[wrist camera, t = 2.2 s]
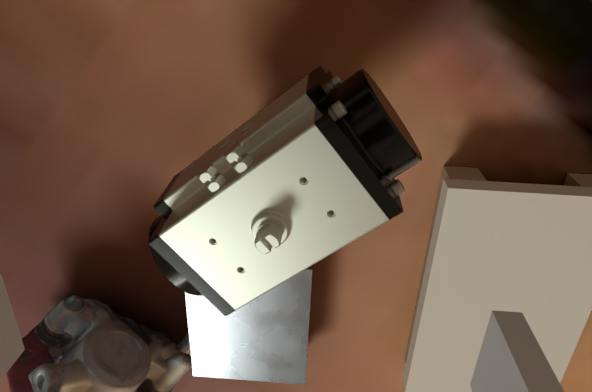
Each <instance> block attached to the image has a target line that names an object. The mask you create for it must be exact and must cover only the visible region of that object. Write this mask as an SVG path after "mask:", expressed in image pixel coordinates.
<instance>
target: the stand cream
mask: <svg viewBox="0 0 592 392" xmlns="http://www.w3.org/2000/svg"><path fill="white" fill-rule="evenodd" d="M492 310H494V311H507V312H521V313H523V315H524V317H525V319H526V321H527V323H528V325H529V326H530V328H531V330H532V332H533V334H534V336H535V338H536V340H537V341H538V343H539V345H540V347H541V349H542V351H543V353H544V355H545V356H546V358H547V360H548V362H549V364H550V366H551V368H552V370H553V372H554V373H555V375H556V377H557V379H558V381H559V383H560V382H561V380H562V378H563V375H564V373H565V371H566V368H567V366H568V364H569V361H570V359H571V357H572V354H573V352H574V350H575V347H576V345H577V343H578V340H579V338H580V336H581V333H582V331H583V329H584V326H585V324H586V322H587V319H588V317H589V315H590V312H591V310H592V174H576V173H567V175H566V178H565V181H564V184H563V186H562V185H545V184H528V183H511V182H494V181H486V179H485V178H484V176H483V175H482V173H481V172H480V170H479V169H478V168H472V167H455V166H444V167H443V172H442V177H441V182H440V187H439V192H438V197H437V202H436V207H435V212H434V217H433V222H432V227H431V232H430V237H429V242H428V247H427V252H426V257H425V262H424V267H423V272H422V277H421V282H420V287H419V292H418V297H417V302H416V307H415V312H414V317H413V322H412V327H411V332H410V337H409V342H408V347H407V352H406V357H405V363H406V366H405V370H404V375H403V382H404V388H405V392H472V390H471V386H470V383H471V380H472V376H473V373H474V370H475V366H476V363H477V360H478V356H479V353H480V349H481V346H482V343H483V339H484V336H485V332H486V329H487V326H488V322H489V319H490V316H491V312H492Z"/></svg>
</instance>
